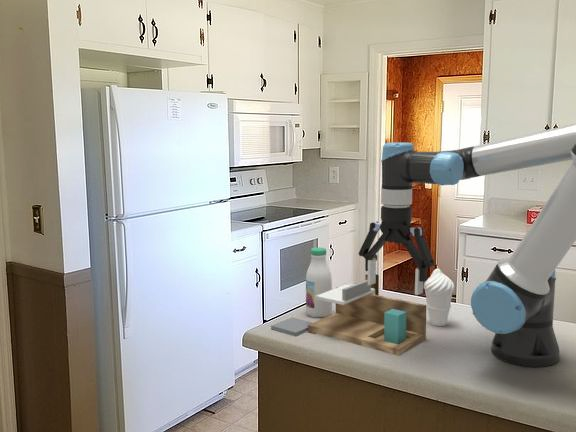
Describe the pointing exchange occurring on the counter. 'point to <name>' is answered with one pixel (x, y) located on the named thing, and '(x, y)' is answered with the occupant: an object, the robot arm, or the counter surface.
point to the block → (395, 326)
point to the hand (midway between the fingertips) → (394, 288)
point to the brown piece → (373, 323)
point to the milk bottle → (318, 284)
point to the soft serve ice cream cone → (438, 297)
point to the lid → (347, 293)
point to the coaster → (292, 326)
